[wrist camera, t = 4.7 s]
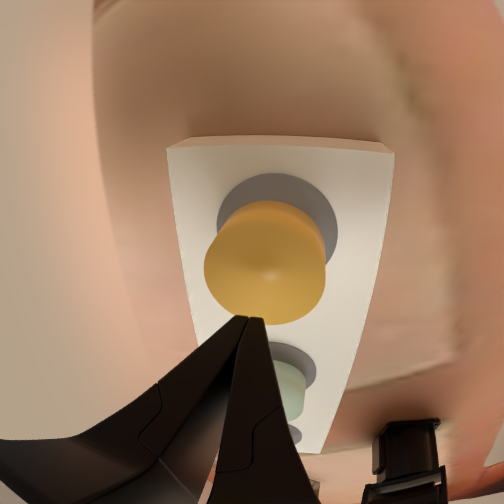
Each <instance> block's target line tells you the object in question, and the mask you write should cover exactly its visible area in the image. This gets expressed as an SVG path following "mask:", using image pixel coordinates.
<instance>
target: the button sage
mask: <svg viewBox="0 0 504 504" xmlns="http://www.w3.org/2000/svg"><path fill="white" fill-rule="evenodd" d="M273 362H274V366H275V371H276V375H277V380H278V384H279V388H280V393H281V397H282V401H283V406H284V410H285V414H286V418H287V422H289V421H292V420H295V419H297V418H298V417H299V416H300V415H301V414H302V412H303V408H304V399H305V390H306V379H305V376H304V375H303V374H302V372H301V371H299V370H298V369H297V368H295V367H294V366H292V365H290V364H287V363H284V362H281V361H276V360H273Z"/></svg>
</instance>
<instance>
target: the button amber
mask: <svg viewBox="0 0 504 504" xmlns="http://www.w3.org/2000/svg"><path fill="white" fill-rule="evenodd" d="M203 268H204V277H205V281H206V284H207V287H208V289H209V291H210V293H211V294H212V296H213V297H214V298H215V300H216V301H217V302H218V303H219V304H220V305H221V306H222V307H223V308H224V309H226V310H227V311H228V312H230V313H231V314H233V315H244V316H248V317H251V316H253V317H262V318H263V319H264V323H265V325H280V324H286V323H290V322H293V321H295V320H298V319H300V318H302V317H304V316H305V315H307V314H308V313H309V312H310V311H311V310H313V309H314V308H315V306H316V305H317V304H318V302H319V301H320V299H321V297H322V295H323V292H324V288H325V280H326V268H325V244H324V240H323V236H322V234H321V232H320V230H319V228H318V227H317V225H316V224H315V222H314V221H313V220H312V219H311V218H310V217H309V216H308V215H307V214H305V213H304V212H303V211H301V210H300V209H298V208H296V207H294V206H292V205H289V204H286V203H283V202H278V201H258V202H254V203H250V204H247V205H245V206H243V207H241V208H240V209H238V210H236V211H235V212H234V213H233V214H232V215H231V216H230V217H229V218H228V219H227V221H226V222H225V224H224V225H223V227H222V228H221V230H220V231H219V233H218V234H217V236H216V237H215V239H214V241H213V242H212V244H211V245H210V247H209V248H208V250H207V253H206V255H205V259H204V267H203Z"/></svg>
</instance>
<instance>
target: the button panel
mask: <svg viewBox="0 0 504 504" xmlns="http://www.w3.org/2000/svg"><path fill="white" fill-rule="evenodd" d="M166 153H167V162H168V170H169V179H170V187H171V194H172V202H173V209H174V216H175V223H176V229H177V236H178V242H179V248H180V254H181V260H182V266H183V272H184V277H185V283H186V288H187V293H188V298H189V304H190V309H191V314H192V319H193V323H194V328H195V333H196V337H197V342H198V347H199V346H200V345H201V344H202V343H204V342H205V341H206V340H207V339H208V338H209V337H210V336H212V335H213V334H214V333H215V332H216V331H217V330H218V329H220V328H221V327H222V326H223V325H224V324H225V323H226V322H228V321H229V320H230V319H231V318H232V317H233V316H235V315H233V314H231V313H230V312H228V311H227V310H226V309H224V308H223V307H222V306H221V305H220V304H219V303H218V302H217V301H216V300H215V298H214V297H213V296H212V294H211V293H210V291H209V289H208V287H207V284H206V281H205V277H204V268H203V267H204V259H205V255H206V253H207V250H208V248H209V247H210V245H211V244H212V242H213V241H214V239H215V237H216V236H217V234H218V233H219V231H220V230H221V228H222V227H223V225H224V224H225V222H226V221H227V219H228V218H229V217H230V216H231V215H232V214H233V213H234V212H235V211H236V210H238V209H240V208H241V207H243V206H245V205H247V204H250V203H254V202H258V201H278V202H283V203H286V204H289V205H292V206H294V207H296V208H298V209H300V210H301V211H303V212H304V213H305V214H307V215H308V216H309V217H310V218H311V219H312V220H313V221H314V222H315V224H316V225H317V227H318V228H319V230H320V232H321V234H322V236H323V240H324V244H325V268H326V280H325V288H324V292H323V295H322V297H321V299H320V301H319V302H318V304H317V305H316V306H315V308H314V309H313V310H311V311H310V312H309V313H308V314H307V315H305V316H304V317H302V318H300V319H298V320H295V321H293V322H290V323H286V324H280V325H265V327H266V331H267V336H268V340H269V345H270V349H271V353H272V358H273V360H276V361H281V362H284V363H287V364H290V365H292V366H294V367H295V368H297V369H298V370H299V371H301V372H302V374H303V375H304V376H305V379H306V390H305V399H304V408H303V412H302V414H301V415H300V416H299V417H298V418H297V419H295V420H292V421H289V422H288V426H289V429H290V433H291V436H292V438H293V441H294V444H295V446H296V449H297V452H303V453H319V454H320V451H321V449H322V447H323V444H324V442H325V439H326V437H327V434H328V432H329V429H330V427H331V424H332V422H333V419H334V417H335V414H336V411H337V409H338V406H339V403H340V400H341V398H342V395H343V392H344V389H345V386H346V383H347V380H348V377H349V374H350V371H351V368H352V365H353V362H354V359H355V355H356V352H357V349H358V345H359V342H360V338H361V335H362V331H363V328H364V324H365V320H366V316H367V313H368V309H369V305H370V301H371V297H372V292H373V288H374V284H375V279H376V275H377V270H378V265H379V261H380V256H381V250H382V245H383V240H384V234H385V228H386V222H387V216H388V210H389V203H390V196H391V188H392V180H393V171H394V162H395V154H394V153H393V152H392V151H391V150H389V149H388V148H387V147H386V146H385V145H383V144H382V143H381V142H372V141H363V140H352V139H340V138H326V137H308V136H279V135H232V136H203V137H190V138H187V139H185V140H183V141H181V142H178V143H176V144H174V145H172V146H169V147H167V148H166Z"/></svg>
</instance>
